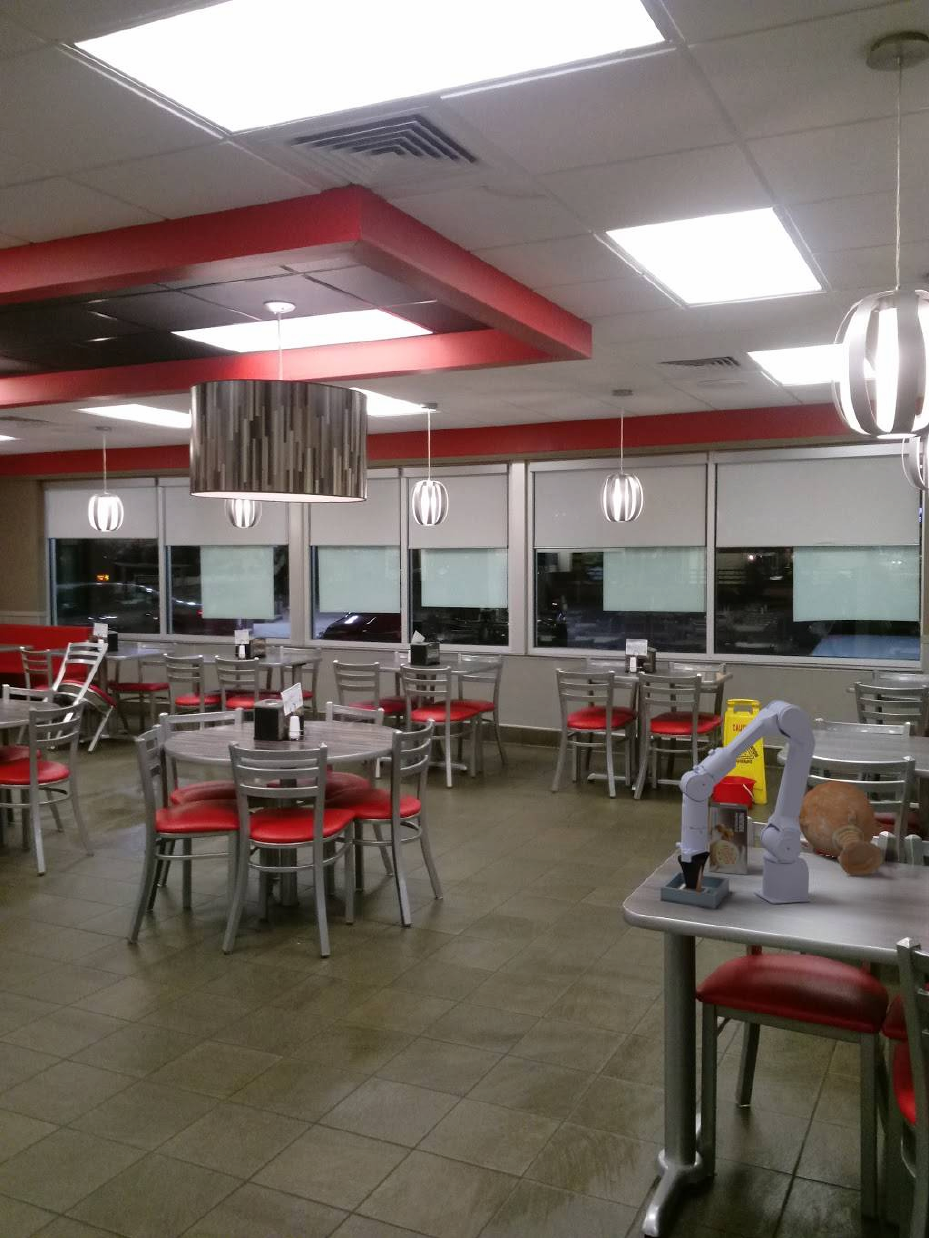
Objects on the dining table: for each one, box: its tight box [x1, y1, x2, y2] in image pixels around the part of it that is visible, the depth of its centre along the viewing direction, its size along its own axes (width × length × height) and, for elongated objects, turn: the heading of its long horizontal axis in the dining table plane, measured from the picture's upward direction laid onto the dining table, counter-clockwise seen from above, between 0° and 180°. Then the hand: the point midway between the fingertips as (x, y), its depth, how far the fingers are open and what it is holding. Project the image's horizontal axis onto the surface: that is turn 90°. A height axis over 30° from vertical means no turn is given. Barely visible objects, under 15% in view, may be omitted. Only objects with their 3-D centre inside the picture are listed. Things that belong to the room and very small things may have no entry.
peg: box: [686, 866, 702, 892], centre depth 230 cm, size 3×3×7 cm
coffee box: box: [708, 801, 749, 876], centre depth 252 cm, size 9×6×16 cm
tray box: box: [660, 870, 730, 910], centre depth 232 cm, size 14×12×3 cm
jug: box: [798, 780, 884, 877], centre depth 261 cm, size 20×19×30 cm
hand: (693, 885), depth 230 cm, fingers closed on peg, 3 cm apart
